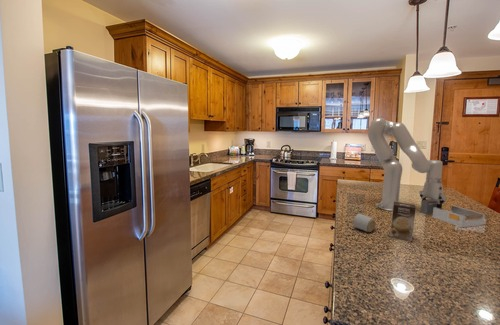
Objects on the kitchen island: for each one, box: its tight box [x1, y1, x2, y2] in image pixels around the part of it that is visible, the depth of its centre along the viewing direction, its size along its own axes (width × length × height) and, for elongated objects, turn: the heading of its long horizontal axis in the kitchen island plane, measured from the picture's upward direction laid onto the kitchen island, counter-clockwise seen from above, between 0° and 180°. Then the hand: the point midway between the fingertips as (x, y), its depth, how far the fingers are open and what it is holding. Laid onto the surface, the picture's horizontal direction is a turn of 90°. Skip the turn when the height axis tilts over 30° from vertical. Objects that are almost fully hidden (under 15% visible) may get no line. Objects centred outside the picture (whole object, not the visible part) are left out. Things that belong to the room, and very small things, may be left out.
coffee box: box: [389, 201, 417, 242], centre depth 123 cm, size 9×6×16 cm
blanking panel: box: [419, 198, 438, 215], centre depth 160 cm, size 10×4×8 cm, turn 106°
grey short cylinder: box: [353, 213, 376, 233], centre depth 132 cm, size 11×8×8 cm
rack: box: [432, 205, 486, 228], centre depth 146 cm, size 16×16×6 cm
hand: (431, 207), depth 160 cm, fingers open, 9 cm apart
